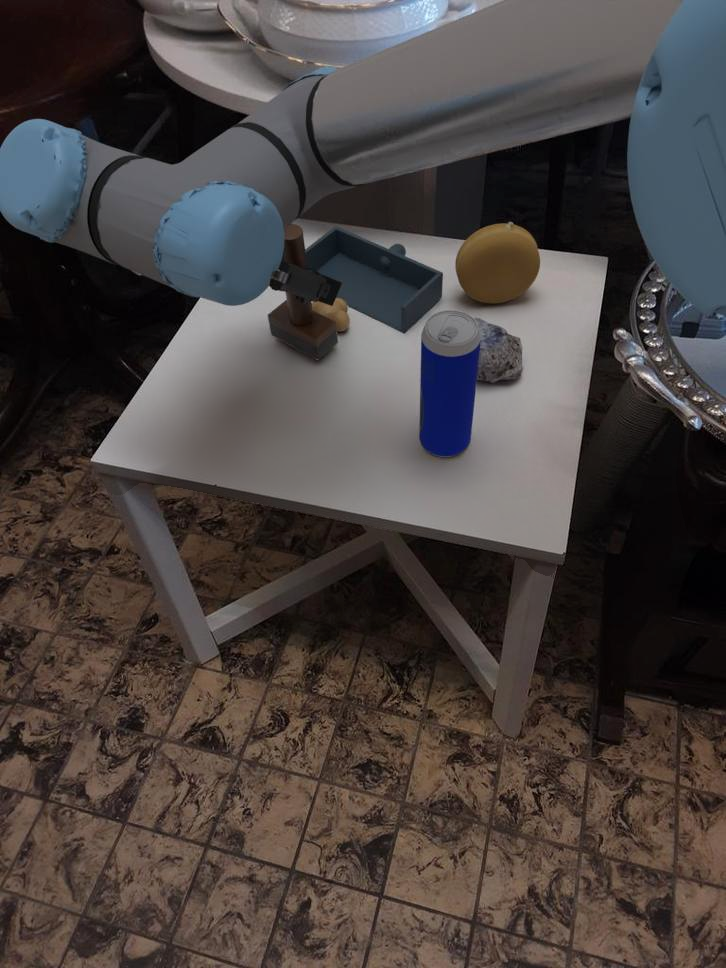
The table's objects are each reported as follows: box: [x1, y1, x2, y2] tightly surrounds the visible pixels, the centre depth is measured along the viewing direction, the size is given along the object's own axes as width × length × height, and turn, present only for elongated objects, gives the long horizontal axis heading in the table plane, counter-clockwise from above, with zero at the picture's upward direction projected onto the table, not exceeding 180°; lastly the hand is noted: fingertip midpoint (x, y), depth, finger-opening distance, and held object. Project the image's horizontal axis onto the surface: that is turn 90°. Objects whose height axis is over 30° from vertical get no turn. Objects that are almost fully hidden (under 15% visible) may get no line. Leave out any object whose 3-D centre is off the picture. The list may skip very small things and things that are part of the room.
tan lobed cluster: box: [312, 298, 351, 332], centre depth 89 cm, size 5×5×2 cm
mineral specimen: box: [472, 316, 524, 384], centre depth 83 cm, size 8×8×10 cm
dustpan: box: [305, 225, 444, 334], centre depth 92 cm, size 10×16×4 cm, turn 52°
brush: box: [267, 223, 339, 361], centre depth 81 cm, size 7×4×14 cm, turn 52°
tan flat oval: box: [454, 221, 541, 304], centre depth 87 cm, size 9×4×10 cm, turn 94°
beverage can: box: [418, 309, 481, 458], centre depth 72 cm, size 5×5×15 cm
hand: (322, 287), depth 85 cm, fingers closed on brush, 3 cm apart
